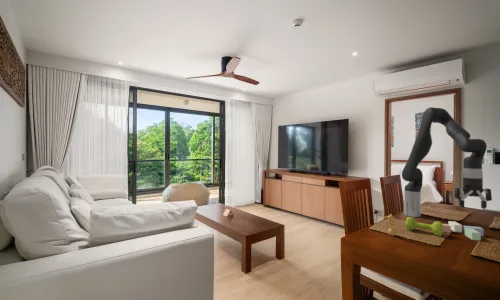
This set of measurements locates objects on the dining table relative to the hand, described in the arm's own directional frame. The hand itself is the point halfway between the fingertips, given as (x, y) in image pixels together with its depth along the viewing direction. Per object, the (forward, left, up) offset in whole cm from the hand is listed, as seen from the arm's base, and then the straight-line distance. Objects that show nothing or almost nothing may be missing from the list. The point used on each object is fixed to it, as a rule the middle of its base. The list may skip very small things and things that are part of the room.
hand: (472, 207), depth 120 cm
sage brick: (0, 0, -16) cm, 16 cm away
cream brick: (-3, +11, -16) cm, 20 cm away
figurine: (-39, -11, -16) cm, 44 cm away
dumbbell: (-21, +1, -16) cm, 27 cm away
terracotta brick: (-11, +6, -16) cm, 20 cm away
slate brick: (+3, +6, -16) cm, 17 cm away
